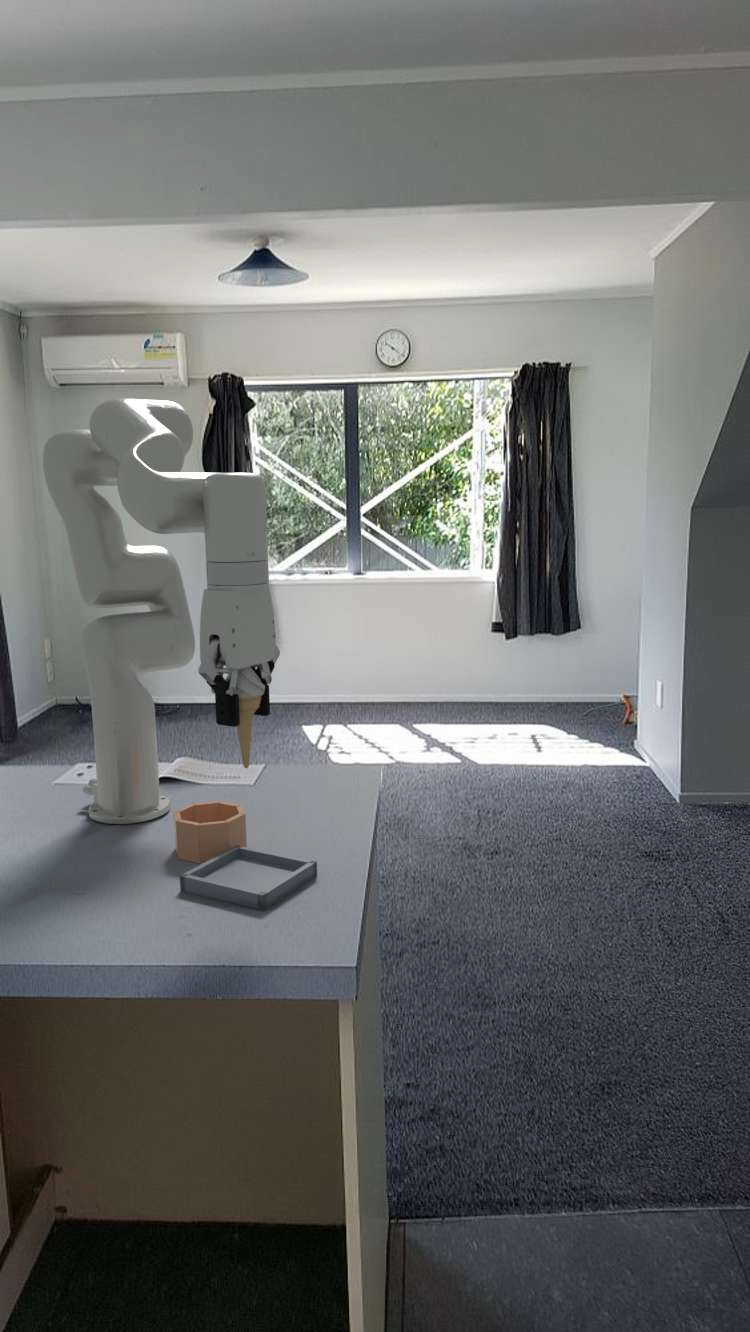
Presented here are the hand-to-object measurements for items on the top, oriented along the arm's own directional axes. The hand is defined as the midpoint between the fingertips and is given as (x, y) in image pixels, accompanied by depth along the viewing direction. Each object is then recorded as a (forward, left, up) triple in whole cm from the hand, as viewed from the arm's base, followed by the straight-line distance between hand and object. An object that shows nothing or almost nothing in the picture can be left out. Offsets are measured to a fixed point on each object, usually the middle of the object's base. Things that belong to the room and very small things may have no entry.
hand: (243, 718), depth 120 cm
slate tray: (0, 0, -22) cm, 22 cm away
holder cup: (-12, +7, -22) cm, 26 cm away
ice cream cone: (0, 0, -7) cm, 7 cm away
